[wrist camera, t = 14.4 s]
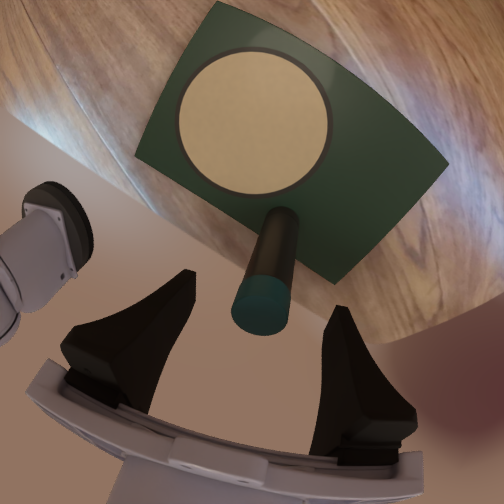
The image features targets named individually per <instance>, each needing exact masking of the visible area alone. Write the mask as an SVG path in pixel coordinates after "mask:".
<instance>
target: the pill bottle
mask: <svg viewBox="0 0 504 504" xmlns="http://www.w3.org/2000/svg"><path fill="white" fill-rule="evenodd" d="M298 231H299V218H298V216H297V214H296V213H295V212H294V211H293V210H292V209H290V208H288V207H284V206H279V207H275V208H273V209H271V210H270V211H269V212H268V213H267V215H266V217H265V220H264V223H263V226H262V228H261V231H260V234H259V237H258V239H257V242H256V245H255V248H254V250H253V253H252V256H251V259H250V261H249V264H248V267H247V270H246V273H245V275H244V278H243V281H242V283H241V285H240V287H239V289H238V292H237V295H236V297H235V300H234V303H233V305H232V308H231V314H232V318H233V320H234V322H235V323H236V324H237V325H238V326H239V327H240V328H241V329H243V330H244V331H246V332H248V333H251V334H254V335H260V336H269V335H273V334H276V333H278V332H280V331H281V330H283V329H284V328H285V326H286V324H287V322H288V315H289V308H290V301H291V287H292V279H293V272H294V264H295V256H296V248H297V239H298Z"/></svg>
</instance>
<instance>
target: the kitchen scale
mask: <svg viewBox="0 0 504 504" xmlns="http://www.w3.org/2000/svg"><path fill="white" fill-rule="evenodd" d="M135 157H136V158H138V159H140V160H141V161H143V162H145V163H146V164H148V165H149V166H151V167H153V168H154V169H156V170H158V171H159V172H161V173H162V174H164V175H166V176H167V177H169V178H170V179H172V180H174V181H175V182H177V183H178V184H180V185H182V186H183V187H185V188H186V189H188V190H189V191H191V192H193V193H194V194H196V195H197V196H199V197H201V198H202V199H204V200H205V201H207V202H208V203H210V204H212V205H213V206H215V207H216V208H218V209H219V210H221V211H223V212H224V213H226V214H227V215H229V216H230V217H232V218H233V219H235V220H237V221H238V222H240V223H241V224H243V225H244V226H246V227H247V228H249V229H251V230H252V231H254V232H255V233H257V234H258V235H259V234H260V231H261V228H262V226H263V223H264V220H265V217H266V215H267V213H268V212H269V211H270V210H271V209H273V208H275V207H279V206H284V207H288V208H290V209H292V210H293V211H294V212H295V213H296V214H297V216H298V218H299V231H298V239H297V248H296V256H295V259H296V260H298V261H299V262H301V263H302V264H304V265H305V266H307V267H308V268H310V269H311V270H313V271H314V272H316V273H317V274H319V275H320V276H322V277H323V278H325V279H326V280H328V281H329V282H331V283H332V284H334V285H335V284H336V283H337V282H339V281H340V280H341V279H342V278H343V277H344V276H345V275H346V274H347V273H348V272H349V271H350V270H351V269H352V268H353V267H354V266H355V265H356V264H358V263H359V262H360V261H361V260H362V259H363V258H364V257H365V256H366V255H367V254H368V253H369V252H370V251H371V250H372V249H373V248H374V247H375V246H376V245H377V244H378V243H379V242H380V241H381V240H382V239H383V238H384V237H385V236H386V235H387V234H388V232H389V231H390V230H391V229H392V228H393V227H394V226H395V225H396V224H397V223H398V222H399V221H400V220H401V219H402V218H403V217H404V216H405V214H406V213H407V212H408V211H409V210H410V209H411V208H412V207H413V206H414V205H415V204H416V202H417V201H418V200H419V199H420V198H421V197H422V196H423V195H424V193H425V192H426V191H427V190H428V189H429V188H430V187H431V185H432V184H433V183H434V182H435V181H436V180H437V178H438V177H439V176H440V175H441V174H442V172H443V171H444V170H445V169H446V168H447V166H448V165H449V163H448V162H447V160H446V159H445V158H444V157H443V156H442V155H441V154H440V152H439V151H438V150H437V149H436V148H435V147H434V146H433V145H432V144H431V143H430V142H429V140H428V139H427V138H426V137H425V136H424V135H423V134H422V133H421V132H420V131H419V130H418V129H417V128H416V127H415V126H414V125H413V124H412V123H411V122H410V121H409V120H408V119H406V118H405V117H404V116H403V115H402V114H401V113H400V112H399V111H398V110H397V109H396V108H394V107H393V106H392V105H391V104H390V103H389V102H388V101H386V100H385V99H384V98H383V97H382V96H381V95H379V94H378V93H377V92H376V91H375V90H373V89H372V88H371V87H370V86H368V85H367V84H366V83H364V82H363V81H362V80H361V79H359V78H358V77H357V76H355V75H354V74H353V73H351V72H350V71H348V70H347V69H346V68H344V67H343V66H341V65H340V64H338V63H337V62H336V61H334V60H333V59H331V58H330V57H328V56H327V55H325V54H323V53H322V52H320V51H319V50H317V49H316V48H314V47H312V46H311V45H309V44H307V43H306V42H304V41H302V40H300V39H299V38H297V37H295V36H293V35H292V34H290V33H288V32H286V31H284V30H282V29H280V28H279V27H277V26H275V25H273V24H271V23H269V22H267V21H265V20H262V19H260V18H258V17H256V16H254V15H252V14H249V13H247V12H245V11H242V10H240V9H238V8H235V7H233V6H230V5H228V4H225V3H222V2H220V1H216V3H215V4H214V6H213V7H212V8H211V10H210V11H209V13H208V14H207V16H206V17H205V19H204V20H203V22H202V23H201V25H200V26H199V28H198V29H197V31H196V33H195V34H194V36H193V37H192V39H191V41H190V42H189V44H188V46H187V47H186V49H185V51H184V52H183V54H182V56H181V58H180V59H179V61H178V63H177V65H176V67H175V68H174V70H173V72H172V74H171V76H170V78H169V80H168V82H167V84H166V86H165V88H164V90H163V92H162V94H161V96H160V98H159V100H158V102H157V104H156V106H155V108H154V110H153V113H152V115H151V117H150V119H149V122H148V124H147V126H146V128H145V131H144V133H143V136H142V138H141V140H140V143H139V145H138V148H137V150H136V153H135Z"/></svg>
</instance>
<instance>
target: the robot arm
mask: <svg viewBox="0 0 504 504" xmlns="http://www.w3.org/2000/svg"><path fill="white" fill-rule="evenodd" d="M24 209H25V214H26V217H24V218H23V219H21V220H20V221H19V222H17V223H16V224H15V225H13V226H12V227H11V228H9V229H8V230H7V231H5V232H4V233H3V234H1V235H0V347H1V346H3V345H4V344H6V343H7V342H8V341H9V340H10V339H11V338H12V337H13V336H14V334H15V333H16V331H17V329H18V327H19V323H20V318H21V314H20V311H21V312H24V313H32V312H35V311H37V310H39V309H41V308H42V307H44V306H45V305H46V304H47V303H48V302H49V301H50V299H51V298H52V297H53V296H54V295H55V294H56V293H57V292H58V291H59V289H61V287H62V286H63V285H64V284H65V283H66V282H67V281H68V280H69V279H70V278H71V277H72V278H74V279H76V278H77V277H78V275H77V271H76V268H75V264H74V260H73V256H72V253H71V249H70V244H69V240H68V236H67V231H66V226H65V222H64V216H63V212H62V211H61V210H59V209H55V208H51V207H46V206H42V205H38V204H34V203H30V202H25V203H24ZM195 301H196V272H194V271H191V270H187V269H184V270H183V271H181V272H180V273H179V274H177V275H176V276H175V277H174V278H172V279H171V280H170V281H168V282H167V283H166V284H164V285H163V286H162V287H160V288H159V289H158V290H156V291H155V292H153V293H152V294H150V295H149V296H147V297H146V298H144V299H143V300H141V301H139V302H138V303H136V304H134V305H132V306H130V307H128V308H126V309H124V310H122V311H120V312H118V313H116V314H113V315H111V316H108V317H105V318H103V319H100V320H96V321H93V322H90V323H86V324H82V325H77V326H74V327H73V328H72V330H71V331H70V332H69V333H68V335H67V336H66V338H65V339H64V340H63V341H62V343H61V344H60V347H61V351H62V353H63V355H64V356H65V358H66V360H67V361H68V363H69V365H70V366H71V368H70V369H69V371H67V370H66V369H65V368H64V367H62V366H61V365H59V364H57V363H56V362H54V361H53V360H51V359H47V360H46V362H45V363H44V365H43V366H42V367H41V369H40V370H39V372H38V373H37V375H36V376H35V378H34V379H33V381H32V382H31V384H30V385H29V387H28V388H27V390H26V391H25V393H26V395H27V396H28V397H29V398H30V399H31V400H32V401H33V402H34V403H35V404H36V405H37V406H38V407H39V408H40V409H41V410H42V411H43V412H45V413H46V414H47V415H48V416H50V417H51V418H52V419H54V420H55V421H57V422H58V423H60V424H61V425H63V426H64V427H66V428H67V429H69V430H70V431H72V432H73V433H75V434H76V435H78V436H79V437H81V438H83V439H84V440H86V441H88V442H89V443H91V444H93V445H94V446H96V447H98V448H99V449H101V450H103V451H105V452H107V453H108V454H110V455H112V456H114V457H116V458H118V459H120V460H122V461H124V463H123V465H122V468H121V470H120V472H119V474H118V477H117V479H116V482H115V484H114V486H113V489H112V491H111V493H110V496H109V498H108V501H107V503H106V504H388V503H395V502H398V501H402V500H406V499H409V498H412V497H415V496H418V495H421V494H423V493H424V475H423V452H422V451H413V452H403V453H400V454H399V453H398V448H401V446H402V445H401V441H402V440H403V439H405V438H406V437H408V436H409V435H411V434H412V433H413V432H415V431H416V429H417V427H418V422H417V413H416V409H415V408H414V407H413V406H412V405H410V404H409V403H408V402H407V401H406V400H405V399H404V398H403V397H402V396H401V395H400V394H399V393H398V392H397V391H396V389H394V387H393V386H392V385H391V384H390V382H389V381H388V380H387V378H386V377H385V376H384V375H383V373H382V372H381V370H380V369H379V368H378V366H377V364H376V363H375V361H374V360H373V358H372V357H371V355H370V353H369V351H368V349H367V348H366V345H365V343H364V341H363V339H362V337H361V335H360V333H359V331H358V329H357V327H356V324H355V322H354V320H353V318H352V315H351V313H350V311H349V309H348V307H345V306H340V305H336V307H335V309H334V311H333V313H332V315H331V317H330V319H329V322H328V324H327V326H326V328H325V330H324V333H323V342H322V384H321V397H320V404H319V410H318V416H317V421H316V426H315V431H314V435H313V440H312V444H311V448H310V451H309V455H303V454H295V453H288V452H281V451H275V450H269V449H264V448H258V447H253V446H248V445H244V444H239V443H235V442H231V441H227V440H223V439H219V438H215V437H211V436H208V435H205V434H201V433H198V432H195V431H191V430H188V429H185V428H182V427H179V426H176V425H174V424H171V423H168V422H165V421H162V420H160V419H157V418H155V417H152V416H150V415H148V411H149V408H150V405H151V402H152V398H153V395H154V392H155V389H156V387H157V384H158V381H159V378H160V375H161V373H162V370H163V368H164V365H165V363H166V360H167V358H168V355H169V353H170V351H171V349H172V347H173V345H174V344H175V341H176V340H177V338H178V336H179V335H180V333H181V331H182V329H183V327H184V326H185V324H186V322H187V320H188V318H189V316H190V314H191V311H192V309H193V306H194V304H195Z"/></svg>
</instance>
